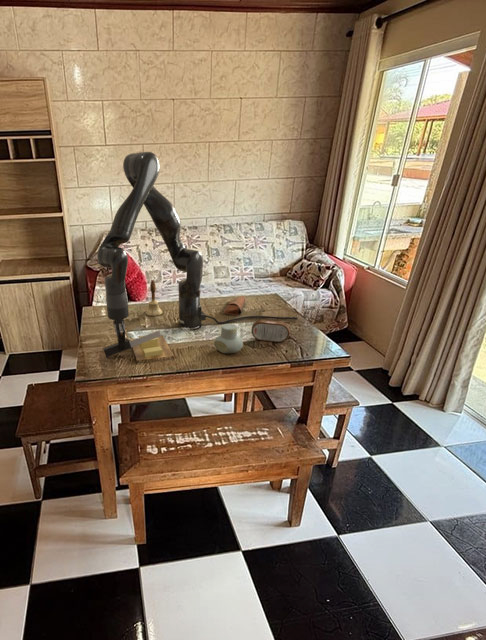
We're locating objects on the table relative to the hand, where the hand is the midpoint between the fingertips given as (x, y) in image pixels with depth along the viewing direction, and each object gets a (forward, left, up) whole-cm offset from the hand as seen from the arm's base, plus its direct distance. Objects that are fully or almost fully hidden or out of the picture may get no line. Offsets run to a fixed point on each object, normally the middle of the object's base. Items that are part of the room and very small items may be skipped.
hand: (121, 348), depth 153 cm
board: (-12, -5, -4) cm, 13 cm away
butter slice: (-11, 0, -2) cm, 11 cm away
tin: (-60, 0, -5) cm, 60 cm away
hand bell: (-21, -45, -5) cm, 50 cm away
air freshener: (-41, +4, -5) cm, 41 cm away
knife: (-5, 0, 0) cm, 5 cm away
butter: (-11, -6, -3) cm, 13 cm away
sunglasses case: (-60, -39, -5) cm, 71 cm away
